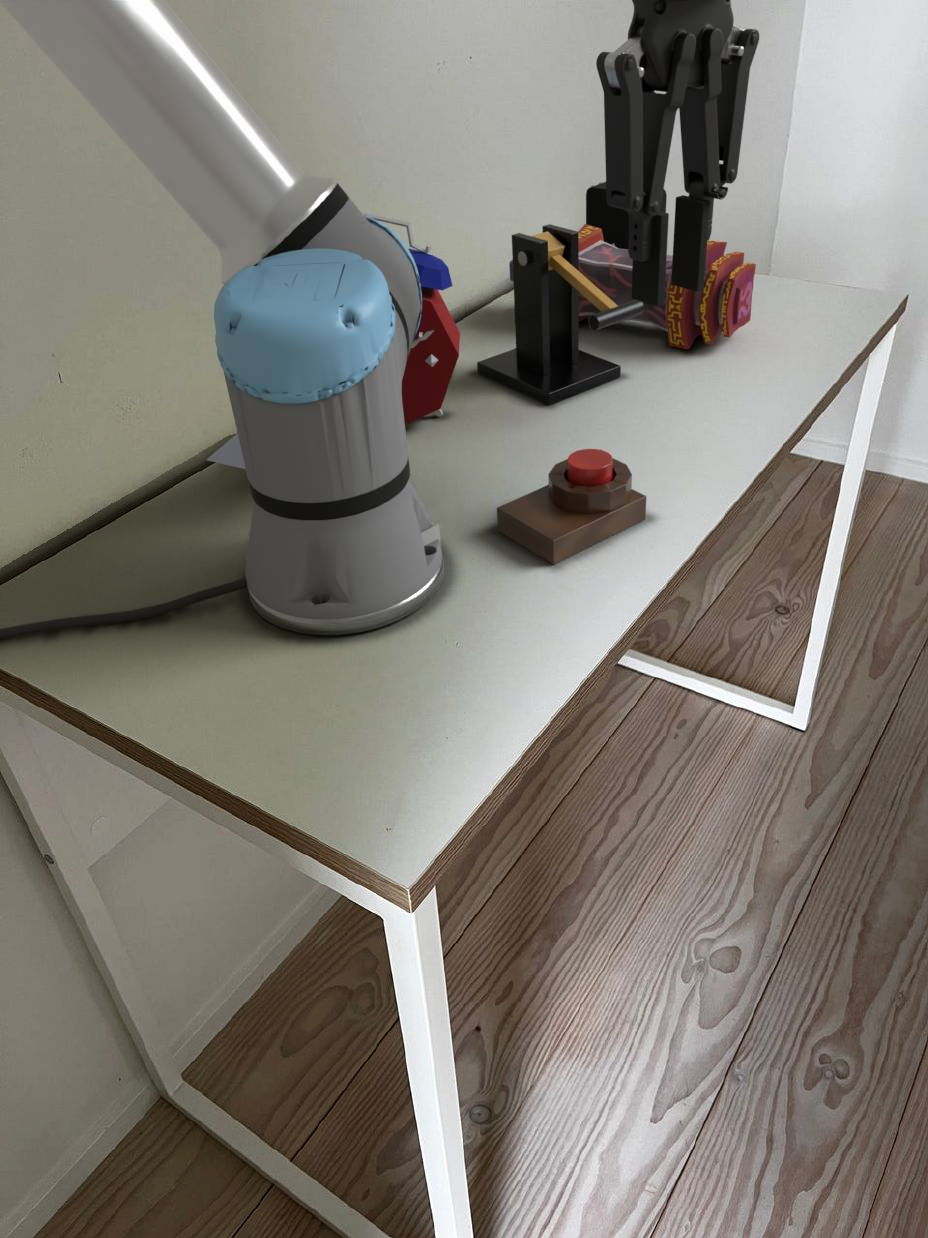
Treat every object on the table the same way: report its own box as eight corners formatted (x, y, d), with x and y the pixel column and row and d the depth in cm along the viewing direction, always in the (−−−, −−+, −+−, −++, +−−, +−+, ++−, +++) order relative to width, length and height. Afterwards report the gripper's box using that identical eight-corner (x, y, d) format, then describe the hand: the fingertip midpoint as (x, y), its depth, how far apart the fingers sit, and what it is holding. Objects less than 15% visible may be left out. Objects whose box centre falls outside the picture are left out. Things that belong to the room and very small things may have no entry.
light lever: (640, 321, 97) (647, 300, 95) (594, 337, 94) (601, 316, 92) (556, 247, 102) (561, 226, 100) (511, 261, 99) (516, 240, 98)
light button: (588, 493, 78) (588, 473, 77) (558, 477, 81) (558, 458, 80) (621, 478, 80) (622, 458, 79) (591, 463, 82) (591, 444, 81)
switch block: (553, 565, 77) (552, 520, 75) (497, 530, 82) (495, 487, 79) (647, 518, 82) (649, 475, 79) (589, 488, 86) (590, 446, 84)
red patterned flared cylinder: (769, 242, 107) (533, 216, 122) (733, 267, 101) (490, 237, 116) (759, 331, 113) (535, 296, 128) (725, 360, 107) (494, 319, 122)
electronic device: (645, 274, 132) (648, 195, 126) (585, 263, 137) (585, 186, 132) (663, 266, 134) (667, 187, 128) (603, 255, 140) (604, 179, 134)
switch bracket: (620, 377, 105) (624, 232, 96) (549, 405, 101) (546, 256, 92) (546, 348, 113) (543, 212, 104) (477, 373, 109) (468, 233, 100)
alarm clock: (465, 401, 103) (450, 198, 91) (464, 439, 96) (447, 223, 84) (323, 410, 104) (290, 209, 92) (312, 447, 97) (275, 235, 85)
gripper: (634, -68, 56) (623, 335, 70) (821, -90, 64) (778, 277, 78) (547, -65, 61) (553, 310, 75) (730, -86, 69) (705, 258, 83)
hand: (667, 293), depth 76 cm, fingers open, 4 cm apart
